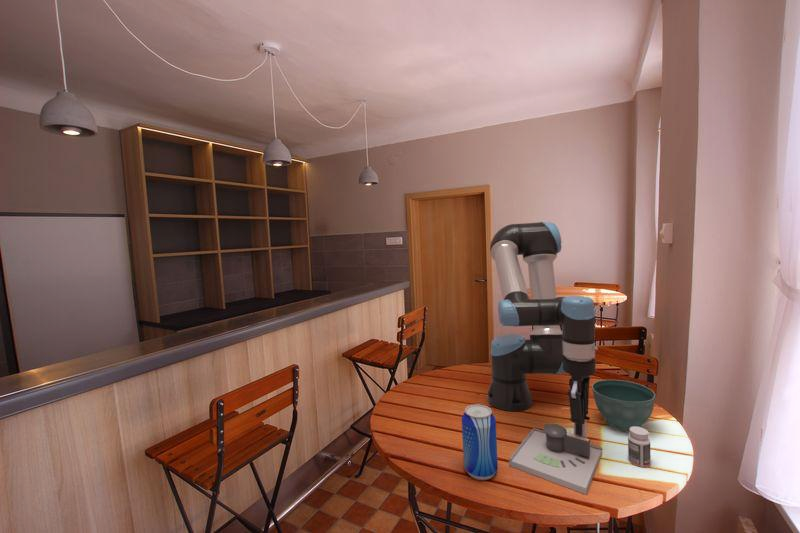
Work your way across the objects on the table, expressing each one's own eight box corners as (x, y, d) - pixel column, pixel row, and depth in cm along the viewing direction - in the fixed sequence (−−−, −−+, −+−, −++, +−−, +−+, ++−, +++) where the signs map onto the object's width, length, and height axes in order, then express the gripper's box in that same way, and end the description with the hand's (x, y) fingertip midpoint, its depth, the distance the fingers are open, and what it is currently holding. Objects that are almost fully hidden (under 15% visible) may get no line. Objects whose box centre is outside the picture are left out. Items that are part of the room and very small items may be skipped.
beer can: (460, 462, 94) (457, 404, 93) (491, 459, 95) (488, 401, 94) (469, 484, 86) (466, 420, 85) (503, 480, 87) (500, 417, 85)
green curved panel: (532, 459, 91) (532, 459, 91) (543, 443, 98) (543, 442, 98) (581, 476, 84) (581, 475, 84) (589, 457, 91) (589, 456, 91)
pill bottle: (647, 457, 92) (647, 426, 91) (653, 469, 88) (653, 436, 87) (625, 454, 94) (625, 424, 93) (631, 466, 89) (630, 434, 89)
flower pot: (581, 421, 111) (580, 387, 110) (611, 406, 119) (611, 375, 118) (636, 445, 97) (636, 407, 96) (666, 427, 105) (666, 392, 104)
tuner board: (509, 465, 92) (508, 458, 92) (533, 433, 106) (533, 427, 106) (586, 494, 80) (585, 486, 80) (602, 454, 94) (601, 447, 94)
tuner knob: (540, 448, 95) (540, 430, 95) (547, 438, 100) (547, 421, 100) (587, 463, 88) (586, 444, 88) (592, 452, 93) (591, 433, 92)
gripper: (589, 367, 84) (590, 462, 86) (600, 352, 94) (601, 437, 96) (555, 361, 89) (558, 452, 91) (569, 347, 99) (571, 429, 101)
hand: (580, 444), depth 93 cm, fingers closed
